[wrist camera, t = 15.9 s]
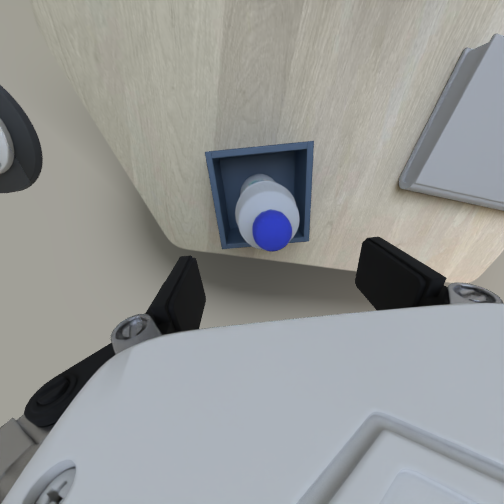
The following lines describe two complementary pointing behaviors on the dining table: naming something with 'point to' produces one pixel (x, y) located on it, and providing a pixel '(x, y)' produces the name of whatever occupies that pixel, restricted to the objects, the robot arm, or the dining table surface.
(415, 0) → the dining table surface
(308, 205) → the bin
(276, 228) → the bottle
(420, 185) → the book
